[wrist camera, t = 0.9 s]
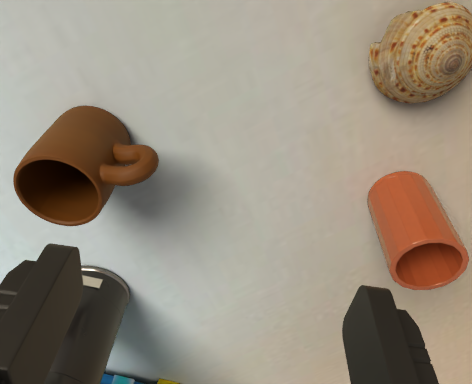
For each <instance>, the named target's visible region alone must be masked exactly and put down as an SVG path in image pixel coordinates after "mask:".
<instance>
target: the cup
mask: <svg viewBox="0 0 472 384" xmlns="http://www.w3.org/2000/svg"><path fill="white" fill-rule="evenodd" d="M368 207H369V210H370V213H371V216H372V219H373V222H374V225H375V228H376V231H377V234H378V237H379V241H380V244H381V247H382V250H383V253H384V256H385V259H386V262H387V265H388V268H389V271H390V274H391V276H392V278H393V280H394V281H395V282H397V283H398V284H399V285H401V286H402V287H405V288H409V289H413V290H431V289H435V288H438V287H442V286H445V285H447V284H449V283H451V282H452V281H454V280H456V279H457V278H458V277H459V276H460V275H461V274H462V273H463V272H464V271H465V269H466V267H467V264H468V261H469V257H468V254H467V250H466V248H465V247H464V245H463V243H462V241H461V239H460V238H459V236H458V234H457V232H456V230H455V229H454V227H453V225H452V223H451V221H450V220H449V218H448V216H447V214H446V212H445V211H444V209H443V207H442V205H441V203H440V202H439V200H438V198H437V196H436V194H435V193H434V191H433V189H432V187H431V185H430V184H429V183H428V181H427V180H426V179H425V178H424V177H423V176H421V175H419V174H417V173H414V172H408V171H401V172H395V173H392V174H389V175H386V176H384V177H383V178H381V179H380V180H378V181H377V182H376V183H375V184H374V185H373V186H372V188H371V190H370V191H369V194H368Z"/></svg>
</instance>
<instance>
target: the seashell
mask: <svg viewBox="0 0 472 384" xmlns="http://www.w3.org/2000/svg"><path fill="white" fill-rule="evenodd" d="M369 62H370V63H369V68H370V71H371V74H372V77H373V81H374V83H375V85H376V87H377V88H378V89H379V90H380V91H381V92H382V93H383V94H384V95H386V96H387V97H389V98H391V99H393V100H396V101H399V102H405V103H419V102H426V101H429V100H432V99H435V98H437V97H439V96H441V95H443V94H445V93H446V92H448V91H449V90H451V89H452V88H453V87H455V86H456V85H457V84H459V83H460V82H461V81H462V79H463V78H464V77H465V76H466V75H467V74H468V72H469V71H470V69H471V68H472V14H471V13H470V12H469V10H467V9H466V8H465V7H463V6H462V5H459V4H457V3H453V2H444V3H441V4H436V5H433V6H430V7H428V8H426V9H424V10H422V11H420V10H417V11H414V12H412V11H408V12H406V13H405V14H400V15H398V16H396V17H395V18H394V19H393V20H391V22H390V25H389V26H388V27H387V30H386V33H385V35H384V37H383V39H382V41H381V42H379V43H377V42H375V43H373V44H371V46H370V53H369Z"/></svg>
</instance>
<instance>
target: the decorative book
mask: <svg viewBox="0 0 472 384" xmlns="http://www.w3.org/2000/svg"><path fill="white" fill-rule="evenodd" d="M100 384H144V383H140V382H136V381H134V379H131V378H127V377H123V376H119V375H114V376H112V375H107V374H103V377H102V380H101V383H100ZM157 384H180V383H176V382H172V381H168V380H164V379H160V378H159V381H158V383H157Z"/></svg>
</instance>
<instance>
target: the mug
mask: <svg viewBox="0 0 472 384" xmlns="http://www.w3.org/2000/svg"><path fill="white" fill-rule="evenodd" d="M158 162H159V159H158V155H157V153H156V152H155V150H154V149H152V148H151V147H149V146H146V145H131V141H130V137H129V134H128V132H127V130H126V128H125V127H124V125H123V124H122V123H121V122H120V121H119V120H118V119H117V118H116V117H115V116H114V115H112V114H111V113H109V112H107V111H105V110H103V109H100V108H97V107H93V106H78V107H75V108H72V109H70V110H68V111H66V112H65V113H63V114H62V115H61V116H60V117H59V118H58V119H57V120H56V121H55V122H54V123H53V125H52V126H51V127H50V128H49V129H48V130H47V131H46V132H45V133H44V134H43V135H42V136H41V137H40V139H39V140H38V141H37V142H36V143H35V144H34V145H33V146H32V147H31V149H30V150H29V151H28V152H27V153H26V155H25V156H24V158H23V159H22V161H21V162H20V164H19V165H18V166H17V168H16V170H15V173H14V181H13V182H14V188H15V191H16V193H17V195H18V197H19V199H20V200H21V202H22V203H23V204H24V205H25V206H26V207H27V208H28V209H29V210H30V211H31V212H33V213H34V214H35V215H37V216H38V217H40V218H42V219H44V220H46V221H49V222H51V223H54V224H58V225H64V226H78V225H82V224H85V223H88V222H90V221H92V220H93V219H94V218H96V217H97V216H98V214H99V213H100V212H101V210H102V208H103V207H104V205H105V204H106V202H107V201H108V199H109V197H110V195H111V193H112V191H113V189H114V187H115V185H119V186H129V185H133V184H137V183H140V182H142V181H144V180H146V179H148V178H149V177H150V176H151V175H152V174H153V173H154V172H155V171H156V169H157V167H158ZM129 164H132V165H129ZM125 165H129V166H125Z"/></svg>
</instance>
